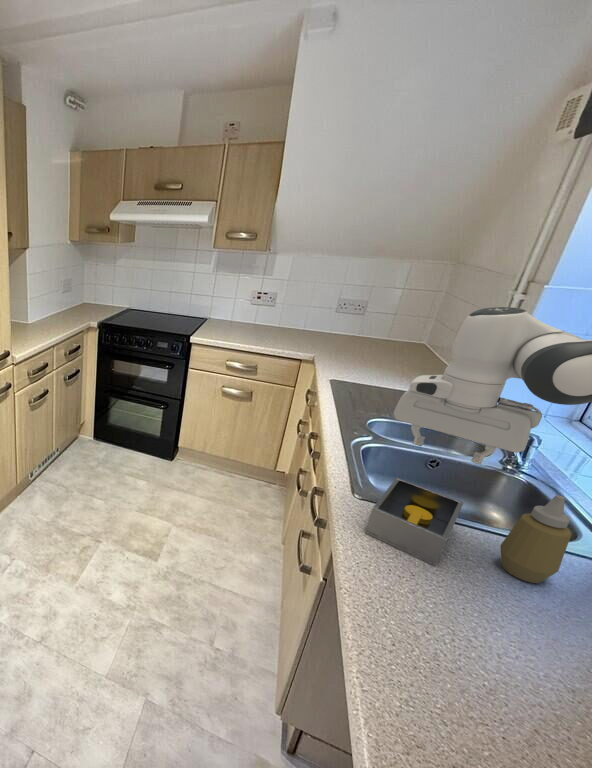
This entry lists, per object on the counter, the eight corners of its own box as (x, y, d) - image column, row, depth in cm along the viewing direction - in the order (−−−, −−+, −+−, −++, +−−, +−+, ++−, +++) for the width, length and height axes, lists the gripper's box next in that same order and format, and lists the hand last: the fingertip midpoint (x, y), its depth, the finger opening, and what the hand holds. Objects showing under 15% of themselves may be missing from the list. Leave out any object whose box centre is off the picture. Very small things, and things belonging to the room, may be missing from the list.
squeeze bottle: (557, 595, 77) (603, 517, 70) (499, 576, 81) (538, 500, 74) (541, 567, 83) (582, 493, 77) (488, 551, 87) (522, 479, 81)
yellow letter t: (433, 518, 96) (436, 509, 95) (419, 544, 87) (422, 535, 87) (406, 507, 100) (409, 498, 99) (390, 531, 91) (393, 523, 90)
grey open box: (388, 500, 103) (396, 477, 101) (453, 526, 94) (463, 502, 92) (364, 533, 92) (372, 507, 89) (435, 566, 83) (447, 539, 80)
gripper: (547, 403, 75) (518, 468, 80) (409, 374, 89) (392, 431, 94) (545, 412, 71) (514, 480, 76) (401, 380, 85) (383, 439, 90)
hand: (445, 453), depth 85 cm, fingers open, 8 cm apart
